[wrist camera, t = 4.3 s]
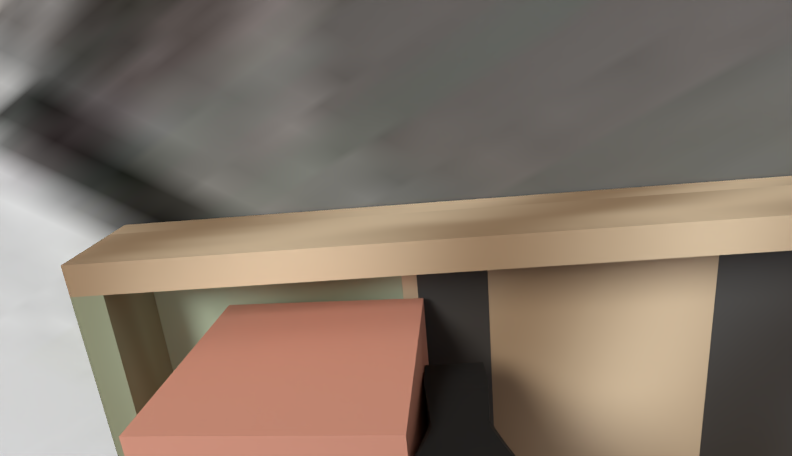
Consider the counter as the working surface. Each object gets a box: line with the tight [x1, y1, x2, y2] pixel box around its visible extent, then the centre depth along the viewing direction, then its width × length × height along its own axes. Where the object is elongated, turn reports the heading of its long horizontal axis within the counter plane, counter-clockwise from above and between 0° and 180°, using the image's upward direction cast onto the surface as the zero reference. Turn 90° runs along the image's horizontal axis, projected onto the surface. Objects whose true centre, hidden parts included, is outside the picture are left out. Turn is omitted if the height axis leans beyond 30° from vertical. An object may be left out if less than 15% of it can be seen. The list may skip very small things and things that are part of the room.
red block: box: [119, 298, 429, 456], centre depth 10 cm, size 4×4×4 cm
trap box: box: [61, 176, 792, 456], centre depth 11 cm, size 16×7×2 cm, turn 95°
